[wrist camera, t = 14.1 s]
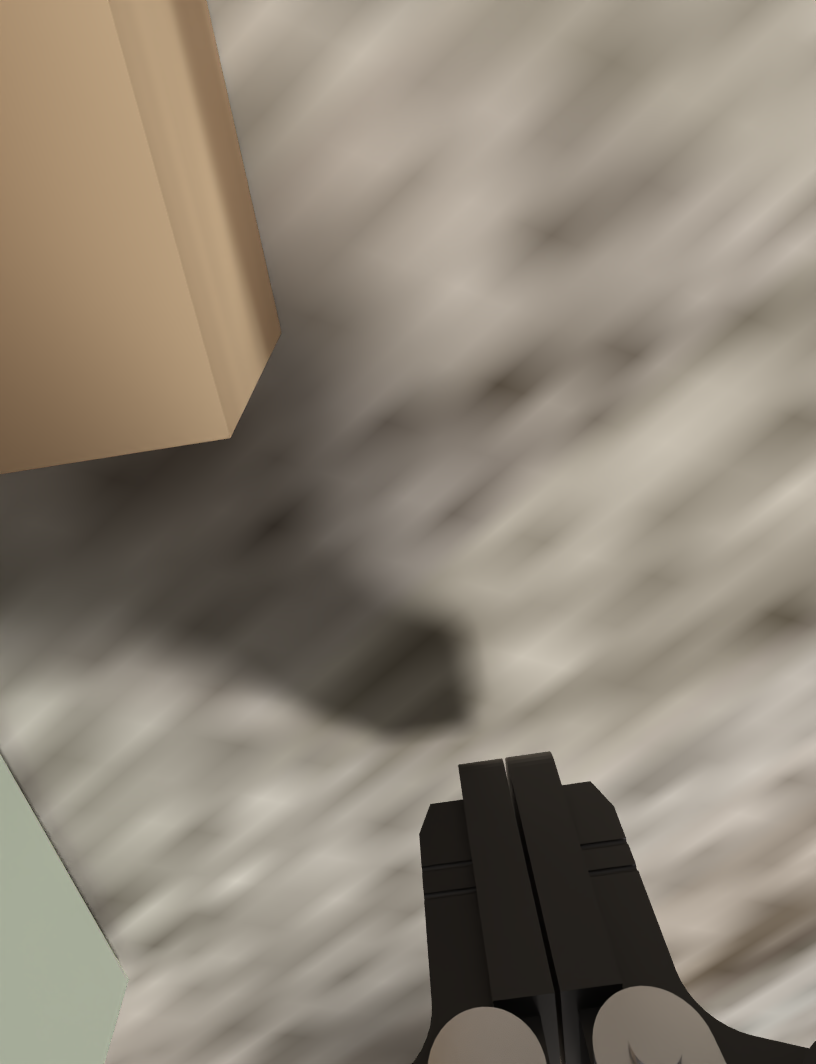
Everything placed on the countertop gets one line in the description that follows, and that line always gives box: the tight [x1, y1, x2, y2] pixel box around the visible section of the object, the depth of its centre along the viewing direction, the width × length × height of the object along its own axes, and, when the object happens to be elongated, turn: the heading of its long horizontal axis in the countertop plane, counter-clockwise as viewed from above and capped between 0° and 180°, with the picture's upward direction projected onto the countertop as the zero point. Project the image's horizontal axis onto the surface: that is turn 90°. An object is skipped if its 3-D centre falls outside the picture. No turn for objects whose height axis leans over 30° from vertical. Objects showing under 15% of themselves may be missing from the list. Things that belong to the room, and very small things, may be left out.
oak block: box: [0, 0, 281, 474], centre depth 7 cm, size 4×4×4 cm
